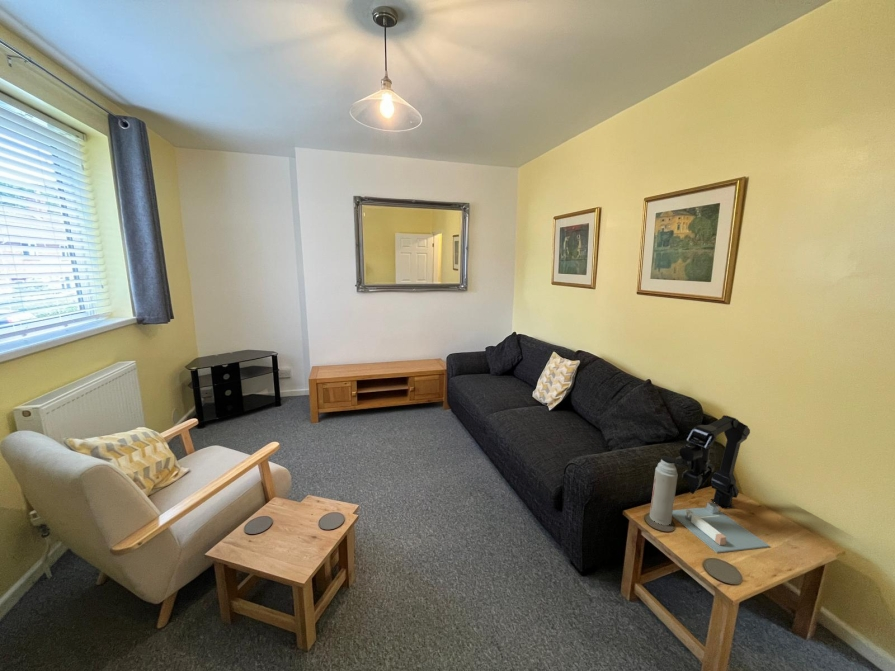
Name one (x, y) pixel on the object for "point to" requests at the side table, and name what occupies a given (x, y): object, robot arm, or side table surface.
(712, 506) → the posts
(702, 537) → the board
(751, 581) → the side table surface
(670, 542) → the side table surface
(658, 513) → the thermos bottle
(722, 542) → the white rectangular bar
